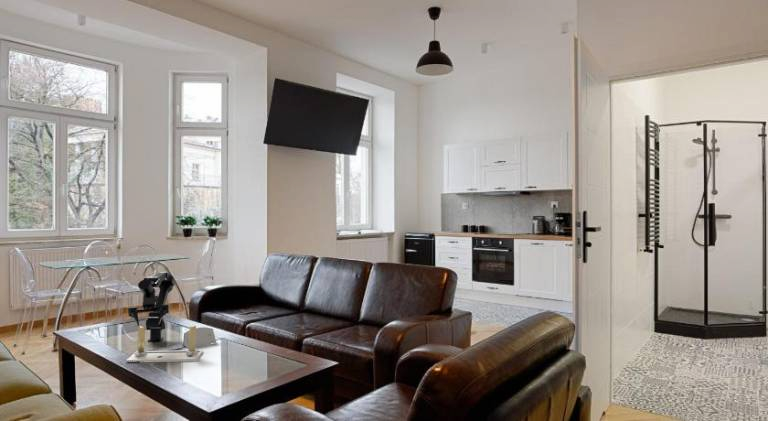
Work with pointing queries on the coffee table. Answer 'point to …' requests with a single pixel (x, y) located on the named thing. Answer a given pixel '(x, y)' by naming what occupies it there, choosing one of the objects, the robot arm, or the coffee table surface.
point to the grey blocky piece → (200, 337)
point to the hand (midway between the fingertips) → (148, 325)
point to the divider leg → (141, 342)
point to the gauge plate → (173, 352)
